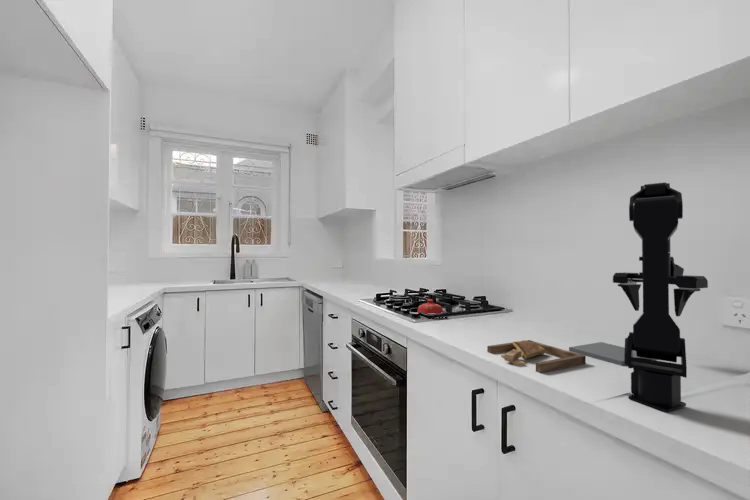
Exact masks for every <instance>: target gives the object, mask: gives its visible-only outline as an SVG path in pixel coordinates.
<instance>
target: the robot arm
mask: <svg viewBox="0 0 750 500" xmlns="http://www.w3.org/2000/svg"><path fill="white" fill-rule="evenodd" d="M628 208H629V209H628V214H629V215H628V218H629V222H632V226H633V229H634V231H635V233H636V235H637V236H638V237H639V238H640V240H641V256H639V257H638V261H639V262H640V261H641V265H642V266H641V271H640V272H624V271H623V272H615V273H614V274H613V275H612V283H613V284H615V283H616V284H617V286H618V287H621V289H622V291H623V292H624V294H625V295H626V296H627V298H628V300H629V301H630V304H631V305H632V308H633V309H634V311H636V312H638V311H640V292H639V291H640V288H641V286H642V313H641V314H640V315H639V316H638V318H637V319H636V321H635V322H634V323H633V324H632V330H633V331H632V332H631V331H630V332H629V333H628V336H627V337H626V338H625V339H624V347H625V354H624V365H623V366H627V368H628V369H633V371H632V372H631V373H630V393H631V395H628V399H629V400H631V401H634V402H637V403H639V404H642V405H646V406H648V407H651V408H654V409H657V410H660V411H662V412H667V413H669V412H672V411H675V410H678V409H681V408H684V407H687V403H686V402H684V401H682V385H681V384H682V383H681V381H682V379H681V378H687V351H686V340H685V338H682V337H681V329H680V328H679V326H678V325H677V323H676V322H675V321H674V319H673V318H672V317H671V315H670V305H669V304H670V299H669V298H670V295H669V294H670V293H669V292H670V291H669V289H670V288H669V287H670V286H669V285H676V286H677V287H678V288H673V301H674V313H675V317H680V316H681V315H682V314H683V313H682V312H683V311H684V308H685V307H686V304H687V302H688V300H689V299H690V297H691V296H692V295H693V294H694V293H695V292H701V289H708V287H709V283H708V282H709V281H708V279H707V278H706V277H705V275H688V274H687V275H685V274H684V271H685V269H684V267H682V266H680V265H679V264H676V263H675V259H674V256H671V238H672V236H673V235H674V233H675V232H676V231H677V230H678V227H679V220H680V219H683V217H684V216H683V214H684V213H683V210H684V209H683V193H682V192H680V191H679V190H676V189H675V188H672V187H670V183H668V182H657V183H647V184H644V185H640V190H639V191H637V192H635V193H634V194H633V195H631V196H630V197H629V205H628ZM638 283H642V284H638ZM633 351H636V353H637V357H642V358H636V357H633ZM643 358H649V359H643ZM678 358H680V363H677V361H678Z"/></svg>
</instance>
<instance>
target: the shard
mask: <svg viewBox="0 0 750 500" xmlns="http://www.w3.org/2000/svg"><path fill="white" fill-rule="evenodd" d="M512 342H513V346H514V347H515V348H516V349H517V350H521V357H522V358H524V359H525V360H526V359H529V358H533V357H535V356H538V355H544V354H546V353H545V352H546V350H545V349H544V348H542V347H541V346H539V345H537V344H534V343H531V342H529V341H526V340H520V341H519V340H518V341H512Z"/></svg>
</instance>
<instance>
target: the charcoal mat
mask: <svg viewBox="0 0 750 500" xmlns="http://www.w3.org/2000/svg"><path fill="white" fill-rule="evenodd" d="M568 351H570V352H573V353H577V354H581V355H584V356H587V357H590V358H593V359H598V360H602V361H604V362H607V363H610V364H611V363H612V364H615V365H618V366H625V365H624V354H625V346H620V345H616V344H611V343H607V342H602V341H599V342H593V343H588V344H581V345H576V346H569V348H568ZM633 357H636V358H642V357H637V353H636V351H633ZM643 359H649V358H643ZM649 360H650V359H649Z"/></svg>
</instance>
